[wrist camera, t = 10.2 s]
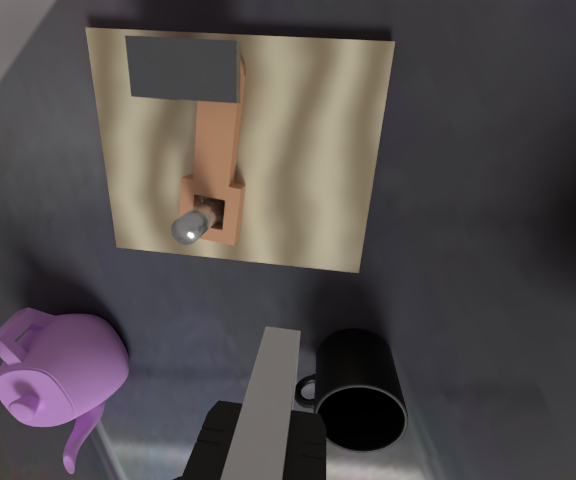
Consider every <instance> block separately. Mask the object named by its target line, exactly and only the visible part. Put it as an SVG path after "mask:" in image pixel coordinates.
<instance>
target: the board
mask: <svg viewBox="0 0 576 480" xmlns="http://www.w3.org/2000/svg"><path fill="white" fill-rule="evenodd" d="M86 35H87V42H88V49H89V56H90V63H91V70H92V77H93V84H94V91H95V98H96V105H97V112H98V119H99V126H100V133H101V140H102V147H103V154H104V161H105V168H106V175H107V182H108V189H109V196H110V203H111V210H112V217H113V224H114V231H115V238H116V245H117V247H118V248H128V249H137V250H147V251H156V252H165V253H175V254H184V255H194V256H203V257H212V258H222V259H231V260H241V261H250V262H259V263H269V264H278V265H288V266H297V267H306V268H316V269H325V270H335V271H344V272H353V273H359V267H360V261H361V255H362V248H363V242H364V236H365V229H366V223H367V217H368V210H369V204H370V198H371V191H372V185H373V179H374V172H375V166H376V160H377V153H378V147H379V141H380V134H381V128H382V122H383V115H384V109H385V103H386V96H387V90H388V84H389V77H390V71H391V65H392V58H393V52H394V46H395V42H394V41H372V40H350V39H328V38H306V37H284V36H262V35H240V34H218V33H196V32H174V31H152V30H130V29H108V28H86ZM125 35H127V36H148V37H169V38H191V39H212V40H233V41H238V42H239V43H240V44H241V59H242V61H243V63H244V65H245V69H246V78H245V87H244V97H243V106H242V115H241V125H240V134H239V144H238V153H237V162H236V172H235V181H234V183H237V184H242V185H246V187H245V195H244V203H243V211H242V220H241V228H240V236H239V240H238V241H237V243H236V244H235V245H229V244H224V243H219V242H214V241H209V240H204V239H198V240H197V241H196V242H194V243H193V244H191V245H183V244H180V243H179V242H177V241H176V240H175V239H174V237H173V236H172V233H171V226H172V224H173V222H174V221H175V220H177V219H178V218H179V213H180V190H181V178H182V177H184V176H186V175H189V174H190V175H193V170H194V152H195V135H196V118H197V101H191V100H164V99H152V98H142V97H132V96H131V89H130V79H129V70H128V60H127V51H126V41H125ZM207 198H209V197H205V196H201V203H202V202H203V201H205V200H206V199H207ZM224 202H225V200H224ZM223 220H224V215H223V216H222V217H221V218H220V219H219V220H218V221H217V222H219V223H223Z"/></svg>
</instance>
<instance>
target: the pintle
mask: <svg viewBox="0 0 576 480" xmlns="http://www.w3.org/2000/svg"><path fill="white" fill-rule="evenodd" d="M224 209H225V202H224V200H220V199H215V198H210V197H209V198H207V199H206V200H205V201H203V202H202V203H200V204H199V205H197V206H196V207H194V208H193V209H191V210H190V211H188V212H187V213H185V214H184V215H183V216H181V217H180V218H178V219H177V220H175V221H174V222H173V224H172V226H171V233H172V236H173V237H174V239H175V240H176V241H177V242H179V243H180V244H183V245H191V244H193V243H194V242H196V241H197V240H198V239H199V238H200V237H201V236H202V235H203V234H204V233H205V232H206V231H207V230H208V229H209V228H210V227H211V226H213V225H214V224H215V223H216V222H217V221H218V220H219V219H220V218H221V217H222V216H223V215H224Z"/></svg>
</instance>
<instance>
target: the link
mask: <svg viewBox="0 0 576 480" xmlns="http://www.w3.org/2000/svg"><path fill="white" fill-rule="evenodd" d="M245 78H246V69H245V65H244V63H243V61H242V59H241V64H240V104H238V103H222V102H206V101H197V118H196V135H195V152H194V170H193V175H190V174H189V175H186V176H184V177H182V178H181V190H180V213H179V218H180V217H181V216H183V215H184V214H185V213H187V212H188V211H190V210H191V209H193V208H194V207H196V206H197V205H199V204H200V203H201V196H205V197H210V198H215V199H220V200H225V209H224V220H223V223H219V222H216V223H215V224H214V225H213V226H211V227H210V228H209V229H208V230H207V231H206V232H205V233H204V234H203V235H202V236H201V237H200V238H199V239H204V240H209V241H214V242H219V243H224V244H229V245H235V244H236V243H237V241H238V240H239V236H240V228H241V220H242V211H243V203H244V195H245V187H246V185H242V184H237V183H234V181H235V172H236V162H237V153H238V144H239V134H240V125H241V115H242V106H243V97H244V87H245Z"/></svg>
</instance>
